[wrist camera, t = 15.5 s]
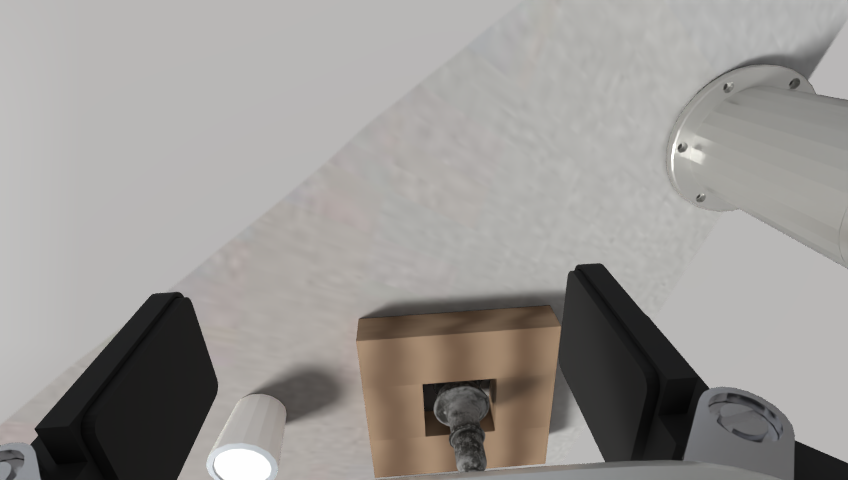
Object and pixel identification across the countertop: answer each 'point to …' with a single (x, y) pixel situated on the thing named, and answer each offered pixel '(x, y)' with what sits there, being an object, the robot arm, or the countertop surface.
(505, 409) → the walnut socket block
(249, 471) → the white cup
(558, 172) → the countertop surface
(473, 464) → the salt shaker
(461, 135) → the countertop surface
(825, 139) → the robot arm
